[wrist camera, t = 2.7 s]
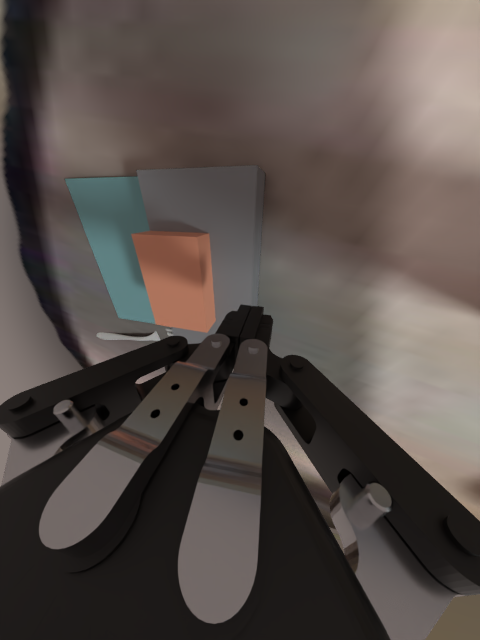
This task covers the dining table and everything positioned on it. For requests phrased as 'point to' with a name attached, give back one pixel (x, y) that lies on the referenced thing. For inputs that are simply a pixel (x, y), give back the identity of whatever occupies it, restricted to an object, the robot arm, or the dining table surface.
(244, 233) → the panel
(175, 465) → the robot arm
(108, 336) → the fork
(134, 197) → the mat
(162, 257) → the tile
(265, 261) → the dining table surface
